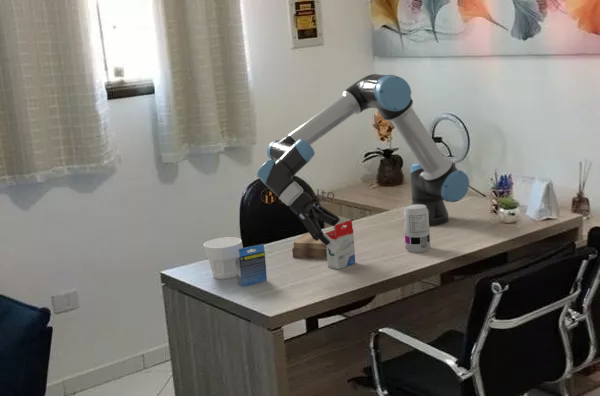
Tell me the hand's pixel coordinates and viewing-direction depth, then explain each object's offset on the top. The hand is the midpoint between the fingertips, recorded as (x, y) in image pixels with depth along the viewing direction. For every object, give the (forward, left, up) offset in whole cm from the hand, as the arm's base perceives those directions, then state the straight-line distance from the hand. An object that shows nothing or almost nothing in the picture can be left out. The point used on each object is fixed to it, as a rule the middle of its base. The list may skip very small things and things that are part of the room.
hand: (343, 244), depth 260 cm
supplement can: (-20, -19, -7) cm, 29 cm away
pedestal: (+14, -13, -7) cm, 21 cm away
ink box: (+1, 0, -7) cm, 7 cm away
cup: (+36, +14, -7) cm, 39 cm away
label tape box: (+24, +20, -7) cm, 32 cm away
